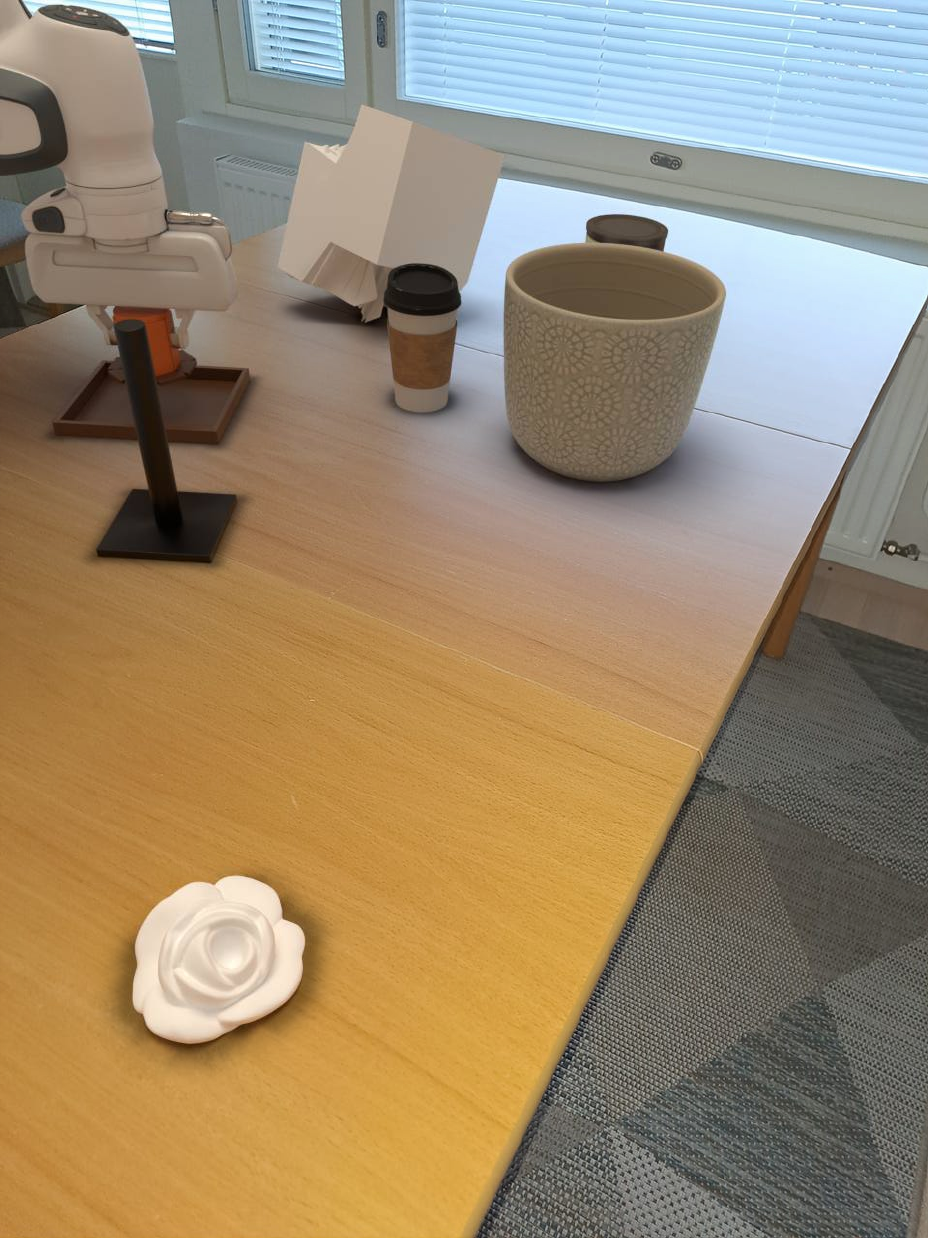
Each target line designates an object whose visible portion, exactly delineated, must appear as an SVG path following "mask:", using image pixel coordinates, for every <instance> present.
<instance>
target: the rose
mask: <svg viewBox="0 0 928 1238" xmlns="http://www.w3.org/2000/svg"><path fill="white" fill-rule="evenodd" d="M134 943H135V944H134V953H135V959H136V969H135V973H134V977H133V982H132V1005H133V1006H132V1007H133V1008H134V1010H135V1011H136V1012H137V1013H139V1014H141V1015H142V1016H143V1019H144V1022H145V1025H146V1027H147V1028H148V1029H149V1030H150V1032H152V1033H153V1034H154V1035H156V1036H158V1037H160V1038H163V1039H166V1040H169V1041H173V1042H177V1043H182V1044H188V1045H189V1044H200V1043H201V1044H202V1043H206V1042H210V1041H213V1040H216V1039H217V1038H219V1037H221V1036H222V1035H225V1034H227V1033H229V1032H232V1031H233V1030H235V1029H236V1028H238V1027H239V1026H241V1025H244V1024H249V1023H253V1022H255V1021H258V1020H260V1019H262V1018H264V1017H266V1016H268V1015H269V1014H271V1013H273V1012H274V1011H276V1010H277V1009H278V1008H280V1007H282V1006H283V1005H284V1004H286V1003H287V1002H288V1001H289V1000H290V999H291V997H292V996H293V995H294V994H295V992H296V991H297V989H298V988H299V986H300V983H301V981H302V976H303V971H304V968H303V967H304V966H303V953H304V950H305V946H306V937H305V933H304V931H303V929H302V928H301V927H300V926H299V925H298V924H296V923H294V922H292V921H289V920H286V919H284V918H283V908H282V904H281V900H280V896H279V895H278V893H277V892H276V891H275V889H273V888H272V887H271V886H270V885H268V884H266V883H264V882H262V881H260V880H257V879H256V878H252V877H247V876H243V875H229V876H225V877H223V878H221V879H219V880H218V881H217V882H215V884H212V883H211V882H205V881H194V882H190V883H187V884H185V885H184V886H182V887H180V888H179V889H177V890H176V891H175V892H173V893H172V894H171V895H169V896H167V897H166V898H164V899H162V900H161V901H159V903H157V904H156V905H155V906H154V907H153V908H152V910H150V912H149V913H148V914H147V916H146V917H145V919H144V921H143V923H142V925H141V927H140V929H139V931H138V933H137V936H136V939H135V942H134Z"/></svg>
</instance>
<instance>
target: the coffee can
mask: <svg viewBox="0 0 928 1238" xmlns="http://www.w3.org/2000/svg"><path fill="white" fill-rule="evenodd" d="M585 225H586V226H585V231H586V233H585V241H584V243H611V244H623V245H631V246H638V247H644V248H649V249H654V250H659V251H663V252H665V246H666V241H667V238H668V235H669V229H668V227H667V226H666V225H665V224H663V223H662V222H659V221H657V220H655V219H652V218H650V217H649V218H648V217H645V216H639V215H635V214H626V213H625V214H624V213H611V214H602V215H601V214H600V215H597V216H593V217H591V218H589V219H588V220H587V221H586V224H585Z"/></svg>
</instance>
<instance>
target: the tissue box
mask: <svg viewBox="0 0 928 1238" xmlns="http://www.w3.org/2000/svg"><path fill="white" fill-rule="evenodd" d="M357 114H358V115H357V118H356V121H355V124H354V128H353V130H352V133H351V135H350V137H349V140H348V141H347V143H345V144H344V145H341V144H340V143H337V144H335V145H332V146H329V145H328V144H325V145H317V144H314V143H311V142H308V141H304V142H303V143H304V144H303V147H302V153H301V157H300V162H299V166H298V171H297V176H296V180H295V185H294V189H293V194H292V198H291V203H290V207H289V212H288V216H287V220H286V221H287V222H286V225H285V230H284V235H283V239H282V243H281V248H280V253H279V258H278V262H277V265H276V266H277V269H279V270H281V271H283V272H284V273H285V275H287V276H288V277H290V278H291V279H294V280H297V281H299V282H302V283H304V284H307V285H310V286H312V287H315V288H319V289H322V290H325V291H327V292H329V293H330V294H332V295H333V296H335V297H337V298H339V299H340V300H341V301H344V302H345V303H347V304H349V305H351V306H353V307H358V309H360V310H361V311H360V313H361V314H362V317H361V320H360V323H362V322H364V323H368V322H370V321H374V320H376V319H378V318H381V315H382V311H383V309H384V308H388V307H387V306H386V305H385V304H384V302H383V299H384V292H385V290H386V289H387V281H388V275H389V272H390V271H391V270H392V269H394V268H396V267H398V266H401V265H405V264H411V263H422V264H431V265H436V266H439V267H442V268H444V269H446V270H448V271H449V272H450V273H452V274H453V275H454V276H455V277H456V279H457V282H458V291H459V292H460V293H461V291H462V290H463V289H464V287H465V286H466V285H467V284H468V283H469V282H468V281H469V279H470V276H471V272H472V269H473V265H474V261H475V258H476V255H477V251H478V249H479V245H480V242H481V238H482V235H483V231H484V229H485V228H484V227H485V225H486V220H487V218H488V214H489V211H490V208H491V204H492V201H493V197H494V193H495V190H496V187H497V183H498V180H499V177H500V173H501V170H502V167H503V164H504V160H505V156H506V154H503V153H500V152H498V151H495V150H492V149H489V148H487V147H484V146H481V145H479V144H476V143H473V142H470V141H467V140H464V139H462V138H459V137H457V136H453V135H451V134H448V133H445V132H443V131H439V130H437V129H435V128H431V127H430V126H429V127H428V126H426V125H424V124H421V123H417V122H414V121H412V120H408V119H406V118H403V117H401V116H397V115H394V114H391V113H388V112H386V111H383V110H379V109H377V108H374V107H371V106H367V105H366V104H361V105H360V108H359V111H358V113H357ZM340 145H341V146H340Z"/></svg>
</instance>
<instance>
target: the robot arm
mask: <svg viewBox="0 0 928 1238" xmlns="http://www.w3.org/2000/svg"><path fill="white" fill-rule="evenodd" d="M143 67H144V66H143V63H142V60H141V57H140V54H139V51H138V48H137V45H136V43H135V40H134V38H133V36H132V34H131V32H130V30H128V28H127V27H126V26H125V25H124V24H123V23H121V21H119V20H118V19H117V18H115V17H114V16H111V15H109V14H107V12H103V11H99V10H96V9H93V8H88V7H84V6H79V5H73V4H70V5H65V4H60V3H59V4H57V3H56V4H47V5H45V6H41V7H39V8H37V10H36V11H35V12H34V14H32V13H31V11H30V10H29V8H28V7H27V5H26V4H25V2H24V1H23V0H0V177H7V176H8V177H9V176H17V175H18V176H19V175H23V174H27V173H28V174H29V173H34V172H38V171H43V170H47V169H50V168H57V169H60V170H61V172H62V173H63V177H64V180H65V186H62V187H60V188H56V189H53V190H50V191H48V192H46V193H44V194H43V195H41V196H39V197H37V198H36V199H34V200H32V202H31V203H29V204H28V205H26V207H25V208H24V209H23V210H22V211H21V214H20V217H21V221H22V224H23V226H24V228H25V230H26V231H27V232H29V233H30V234H29V235H28V236H27V237H26V240H25V243H24V253H25V261H26V266H27V272H28V277H29V281H30V284H31V288H32V290H33V293H34V294H35V295H36V296H37V297H38V298H39V299H40V300H41V301H42V302H44V303H46V304H61V305H63V304H64V305H81V306H82V305H85V308H86V312H87V315H88V317H90V318H91V320H92V321H93V322H94V323H95V325H97V327H98V328H99V329H100V330H101V331H102V333H103V338H104V341H105V344H106V346H118V345H117V341H116V336H115V331H114V322H113V318H111V317H110V315H109V314H108V313H107V311H106V309H107V308H108V307H115V306H122V307H142V308H162V309H170V310H174V312H175V318H176V319H179V320H181V321H180V323H179V326H174V328H173V329H172V331H171V332H170V333H169V335H170V341H171V346H172V348H176V349H179V350H187V348H188V347H189V345H190V337H189V331H188V328H189V327H190V324H191V322H192V319H193V317H194V315H195V313H196V311H201V312H202V311H204V312H205V311H206V312H226V311H228V310H229V308H230V307H231V306H232V305H233V303H235V301H236V300H237V297H238V295H239V294H238V293H239V287H238V282H237V277H236V273H235V268H234V265H233V260H232V257H231V256H232V253H233V243H232V235H231V231H230V228H229V226H228V225H227V224H226V223H225V222H224V221H223V220H222V219H220V218H218V217H216V216H214V213H211V212H207V211H198V212H191V211H185V210H175V209H174V210H173V209H169V205H168V198H167V191H166V187H165V181H164V177H163V176H164V175H163V170H162V166H161V164H160V162H159V160H158V157H157V154H156V151H155V147H154V129H155V122H154V121H155V120H154V115H153V109H152V104H151V103H152V102H151V99H150V93H149V89H148V85H147V81H146V75H145V73H144V68H143Z"/></svg>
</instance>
